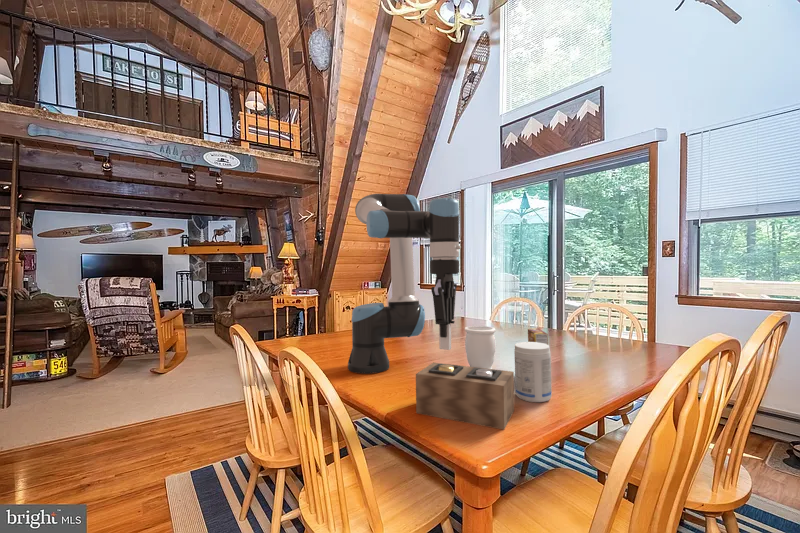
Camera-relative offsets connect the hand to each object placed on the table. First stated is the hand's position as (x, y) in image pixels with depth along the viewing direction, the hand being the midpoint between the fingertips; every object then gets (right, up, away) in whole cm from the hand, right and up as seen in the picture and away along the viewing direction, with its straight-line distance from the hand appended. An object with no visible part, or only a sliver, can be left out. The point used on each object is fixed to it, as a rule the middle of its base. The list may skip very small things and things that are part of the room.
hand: (445, 348), depth 98 cm
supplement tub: (+26, -15, +7) cm, 31 cm away
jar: (+16, -15, +33) cm, 40 cm away
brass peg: (0, -15, 0) cm, 15 cm away
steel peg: (+9, -15, -5) cm, 18 cm away
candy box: (+34, -15, +25) cm, 45 cm away
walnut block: (+5, -16, -3) cm, 16 cm away
